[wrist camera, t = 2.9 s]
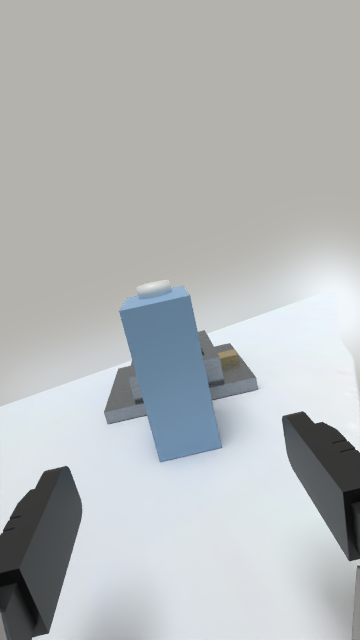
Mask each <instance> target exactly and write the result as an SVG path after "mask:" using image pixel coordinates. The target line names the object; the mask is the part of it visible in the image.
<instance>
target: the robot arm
mask: <svg viewBox="0 0 360 640" xmlns="http://www.w3.org/2000/svg"><path fill="white" fill-rule="evenodd" d="M282 423H283V430H284V437H285V443H286V450H287V455H288V458H289V461H290V464H291V466H292V468H293V470H294V472H295V473H296V475H297V477H298V478H299V480H300V482H301V483H302V485H303V487H304V488H305V490H306V491H307V493H308V495H309V496H310V498H311V500H312V501H313V503H314V504H315V506H316V508H317V509H318V511H319V513H320V514H321V516H322V518H323V519H324V521H325V522H326V524H327V526H328V527H329V529H330V531H331V532H332V534H333V536H334V537H335V539H336V540H337V542H338V544H339V545H340V547H341V549H342V550H343V552H344V553H345V555H346V557H347V558H348V560H349V561H353V560H357V559H360V453H359V451H358V450H355V447H354V446H353V445H352V444H351V443H350V442H349V441H348V442H347V440H346V438H345V437H344V436H343V435H342V434H341V433H340V432H339V431H338V430H337V429H335V428H333V427H331V426H329V425H327V424H325V423H323V422H320V423H316V424H315V423H314V422H313V421H312V420H311V419H310V418H309V417H308V416H307V415H306V413H305V412H303V411H302V412H298V413H294V414H289V415H285V416H283V417H282ZM81 517H82V503H81V499H80V496H79V493H78V491H77V488H76V485H75V482H74V480H73V477H72V474H71V471H70V469H69V468H68V467H67V466H64V467H60V468H56V469H51V470H47V471H45V472H44V473H43V474H42V476H41V478H40V480H39V482H38V484H37V486H36V488H35V489H32V490H30V491H29V492H28V493H27V494H26V495H25V496H24V497H23V498H22V500H21V501H20V502H19V503H18V504H17V506H16V508H15V509H14V511H13V513H12V515H11V517H10V521H8V522H7V524H6V526H5V528H4V529H3V533H1V535H0V640H32V637H36V636H40V635H44V634H48V633H49V631H50V627H51V624H52V620H53V617H54V613H55V610H56V606H57V603H58V599H59V596H60V592H61V589H62V585H63V582H64V578H65V575H66V571H67V568H68V564H69V561H70V557H71V553H72V550H73V546H74V543H75V539H76V536H77V532H78V529H79V525H80V522H81ZM352 640H360V566H358V567H357V573H356V586H355V600H354V615H353V629H352Z"/></svg>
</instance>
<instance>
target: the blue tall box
mask: <svg viewBox="0 0 360 640" xmlns="http://www.w3.org/2000/svg"><path fill="white" fill-rule="evenodd" d="M136 289H137V293H138V296H134V297H130V298H127V300H126V301H125V303H124V305H123V306H122V307H121V309H120V311H119V312H120V316H121V320H122V323H123V327H124V331H125V334H126V338H127V342H128V346H129V349H130V352H131V357H132V360H133V364H134V368H135V371H136V375H137V379H138V382H139V386H140V390H141V394H142V397H143V401H144V405H145V408H146V412H147V416H148V419H149V423H150V427H151V430H152V434H153V438H154V442H155V445H156V449H157V453H158V456H159V460H160V462H163V461H167V460H171V459H176V458H180V457H184V456H188V455H193V454H197V453H201V452H205V451H210V450H214V449H218V448H222V447H221V442H220V438H219V433H218V428H217V423H216V418H215V414H214V409H213V404H212V399H211V394H210V389H209V385H208V380H207V375H206V370H205V365H204V361H203V356H202V351H201V346H200V341H199V337H198V332H197V327H196V322H195V317H194V313H193V308H192V303H191V298H190V295H189V293H188V292H187V290H186V289H185V287H184V286H179V287H174V288H171V287H170V282H169V280H162V281H156V282H151V283H147V284H143V285H140V286H138V287H137V288H136Z"/></svg>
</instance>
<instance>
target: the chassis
mask: <svg viewBox="0 0 360 640" xmlns="http://www.w3.org/2000/svg"><path fill="white" fill-rule="evenodd" d="M198 337H199V341H200V346H201V351H202V356H203V361H204V365H205V370H206V375H207V380H208V385H209V389H210V394H211V399H212V400H213V399H218V398H222V397H226V396H231V395H235V394H239V393H244V392H248V391H252V390H257V389H258V387H257V381H256V377H255V376H254V374H253V373H252V372H251V370H250V369H249V368H248V366H247V365H246V364H245V362H244V361H243V360H242V358H241V357H240V356H239V355H238V353H237V352H236V351H235V349H234V348H233V347H232V345H231V344H230V343H229V344H225V345H220V346H216V347H214V346H213V344H212V342H211V341H210V339H209V337H208V335H207V334H206V332H205V331H200V332H198ZM104 414H105V417H106V420H107V423H108V424H110V423H114V422H119V421H123V420H127V419H131V418H136V417H140V416H144V415H147V412H146V408H145V405H144V401H143V397H142V394H141V390H140V386H139V382H138V379H137V375H136V371H135V368H134V364H133V360H132V364H131V366H128V367H124V368H119V369H118V372H117V375H116V378H115V381H114V384H113V387H112V390H111V393H110V396H109V399H108V402H107V405H106V408H105V411H104Z"/></svg>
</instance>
